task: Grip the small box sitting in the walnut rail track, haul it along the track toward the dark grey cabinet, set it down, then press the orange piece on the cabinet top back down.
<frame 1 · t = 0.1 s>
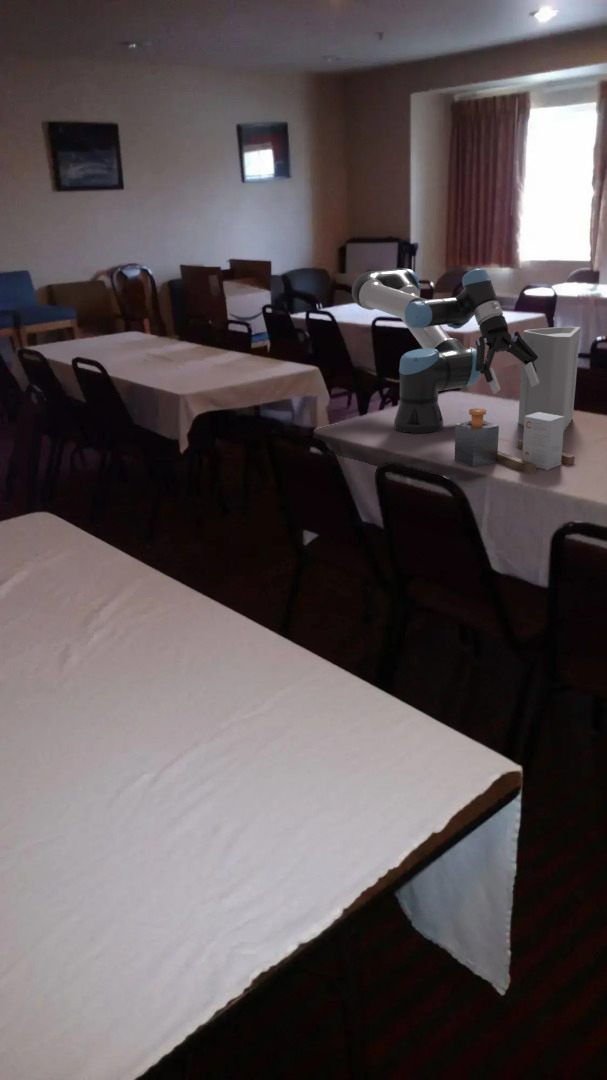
hand: (516, 388, 225), 15 cm above the table, tool tilted 35°, fingers open, 13 cm apart
cabinet: (475, 461, 216), on the table
orange piece: (477, 423, 212), point 10 cm above the table, slide at 0.0 cm
small box: (541, 465, 210), on the table
track: (525, 458, 215), on the table
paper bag: (543, 424, 247), on the table
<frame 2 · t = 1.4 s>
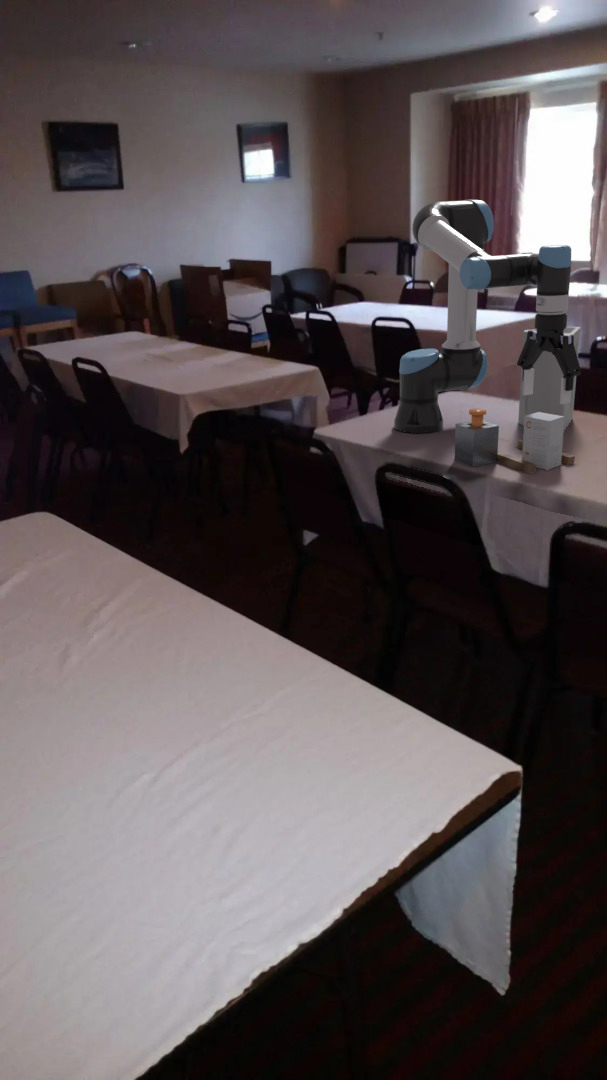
hand: (545, 399, 204), 17 cm above the table, tool pointing down, fingers open, 13 cm apart
nothing on the table moved.
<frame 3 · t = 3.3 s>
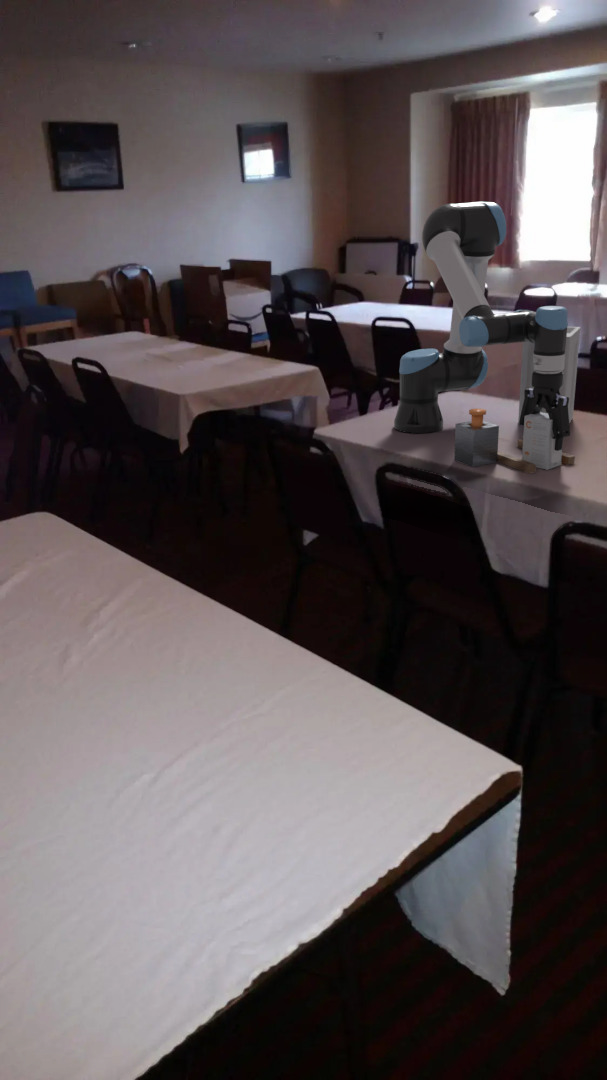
hand: (541, 457, 209), 2 cm above the table, tool pointing down, fingers closed on small box, 9 cm apart
small box: (541, 465, 210), on the table, touching gripper
everything else where it was.
when the fingers open (2 cm above the table, at t = 7.0 s): small box stays where it is, on the table.
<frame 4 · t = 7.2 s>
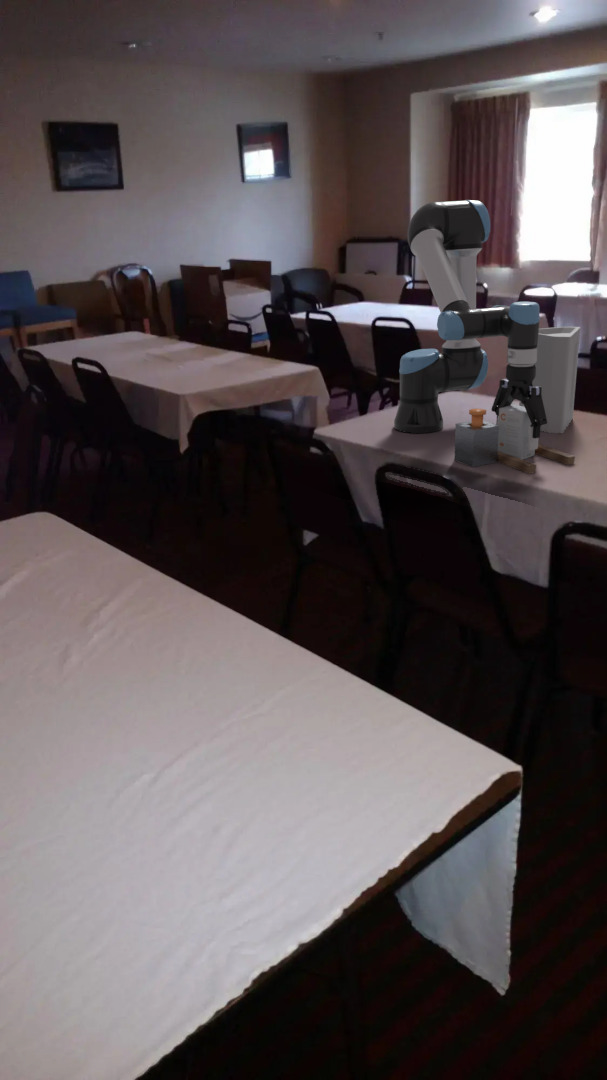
hand: (516, 443, 217), 3 cm above the table, tool pointing down, fingers open, 12 cm apart
small box: (515, 456, 219), on the table
everything else where it was.
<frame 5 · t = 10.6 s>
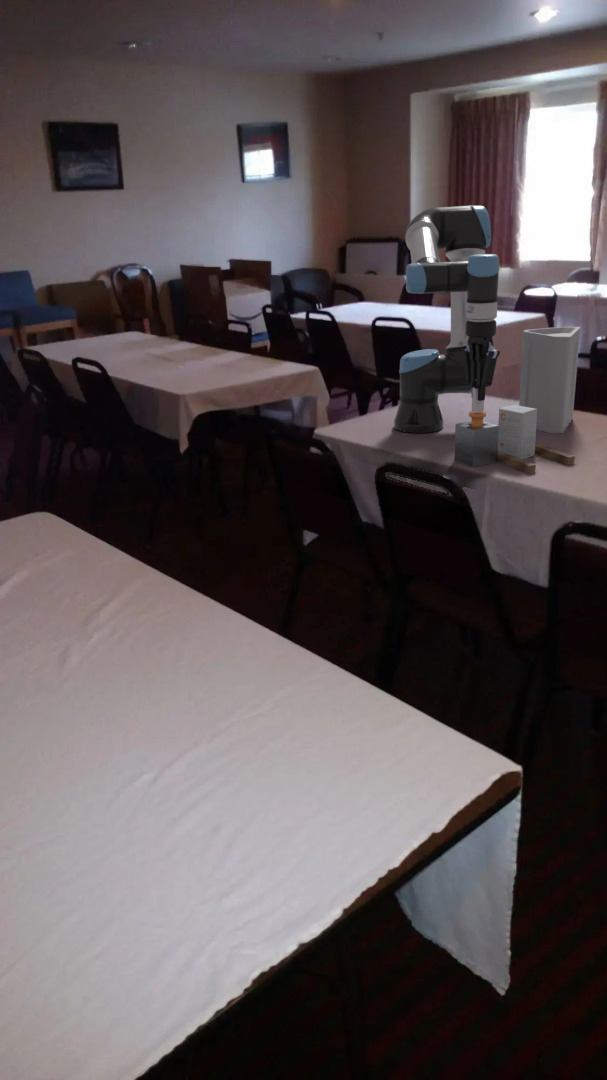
hand: (477, 412, 210), 13 cm above the table, tool pointing down, fingers closed
orange piece: (477, 425, 212), point 10 cm above the table, slide at -0.6 cm, touching gripper
everything else where it was.
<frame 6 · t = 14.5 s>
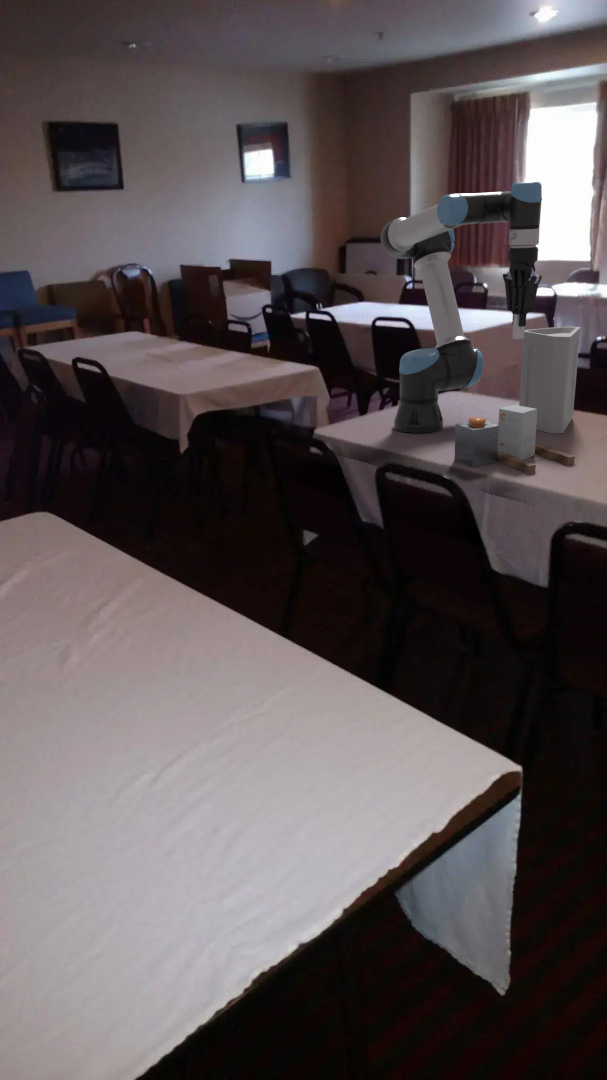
hand: (518, 338, 218), 29 cm above the table, tool pointing down, fingers closed
orange piece: (476, 431, 212), point 8 cm above the table, slide at -2.3 cm
everything else where it was.
at the end: small box inside the target area (0.6 cm from its centre), on the table; small box tilted 0°; orange piece slide at -2.3 cm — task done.
